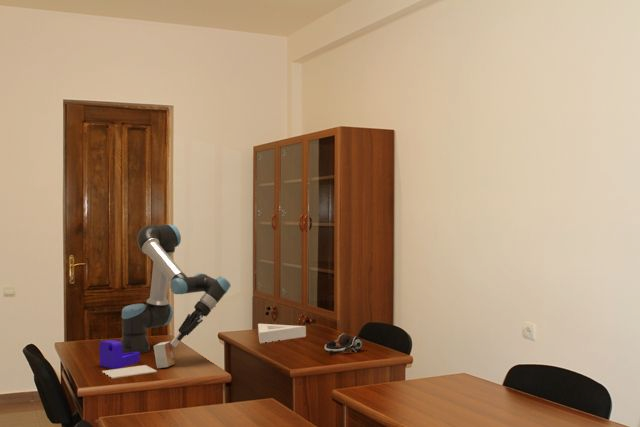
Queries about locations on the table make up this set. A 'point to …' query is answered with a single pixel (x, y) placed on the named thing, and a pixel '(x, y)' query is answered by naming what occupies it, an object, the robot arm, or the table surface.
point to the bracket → (116, 355)
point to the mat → (129, 371)
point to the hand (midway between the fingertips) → (172, 345)
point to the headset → (345, 344)
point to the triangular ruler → (279, 332)
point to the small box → (164, 354)
